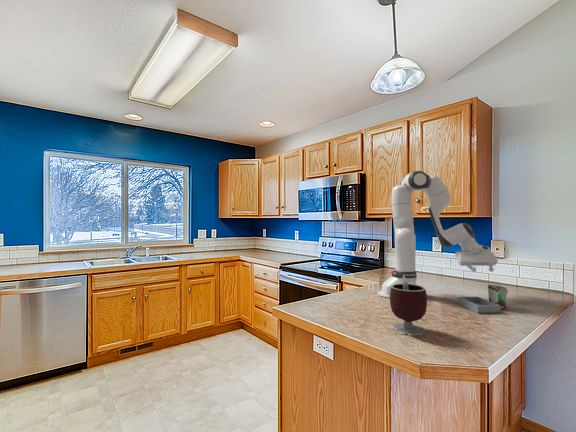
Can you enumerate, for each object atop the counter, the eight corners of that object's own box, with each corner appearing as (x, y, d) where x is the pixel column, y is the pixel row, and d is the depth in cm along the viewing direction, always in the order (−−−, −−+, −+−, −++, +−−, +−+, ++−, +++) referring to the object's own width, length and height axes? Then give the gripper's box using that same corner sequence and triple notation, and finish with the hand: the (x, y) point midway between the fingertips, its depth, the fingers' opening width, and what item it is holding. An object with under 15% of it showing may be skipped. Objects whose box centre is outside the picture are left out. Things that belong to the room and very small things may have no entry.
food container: (513, 311, 146) (513, 290, 146) (499, 310, 147) (498, 289, 147) (501, 304, 158) (500, 284, 158) (487, 303, 159) (487, 284, 160)
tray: (477, 313, 143) (477, 305, 144) (458, 303, 160) (458, 296, 160) (500, 313, 143) (500, 305, 144) (478, 303, 160) (478, 296, 160)
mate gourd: (432, 337, 115) (431, 284, 115) (393, 335, 117) (392, 283, 117) (421, 323, 130) (420, 276, 130) (387, 322, 133) (386, 275, 133)
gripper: (455, 247, 174) (466, 267, 164) (492, 247, 174) (504, 267, 164) (451, 254, 178) (461, 274, 168) (487, 254, 178) (499, 274, 168)
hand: (483, 271), depth 166 cm, fingers open, 8 cm apart
